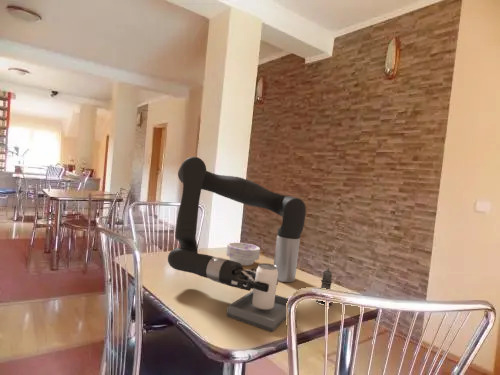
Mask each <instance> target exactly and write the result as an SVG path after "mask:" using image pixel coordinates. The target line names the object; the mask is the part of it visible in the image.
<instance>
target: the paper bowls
mask: <svg viewBox="0 0 500 375" xmlns="http://www.w3.org/2000/svg"><path fill="white" fill-rule="evenodd" d="M225 252H226V253H225V254H226V256H227V257H229V260H231V261H235V262H239V263H240V264H241V265H242V267H243V266H251V265H253V264H254V263H255V261H258V260H259V259H260V253H261V248H260V247H259V246H257V245H255V244H252V243H246V242H238V241H237V242H235V241H234V242H229V243H227V245H226V251H225Z"/></svg>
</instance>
